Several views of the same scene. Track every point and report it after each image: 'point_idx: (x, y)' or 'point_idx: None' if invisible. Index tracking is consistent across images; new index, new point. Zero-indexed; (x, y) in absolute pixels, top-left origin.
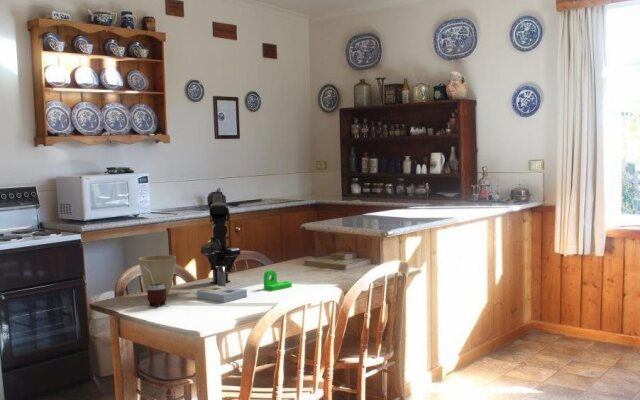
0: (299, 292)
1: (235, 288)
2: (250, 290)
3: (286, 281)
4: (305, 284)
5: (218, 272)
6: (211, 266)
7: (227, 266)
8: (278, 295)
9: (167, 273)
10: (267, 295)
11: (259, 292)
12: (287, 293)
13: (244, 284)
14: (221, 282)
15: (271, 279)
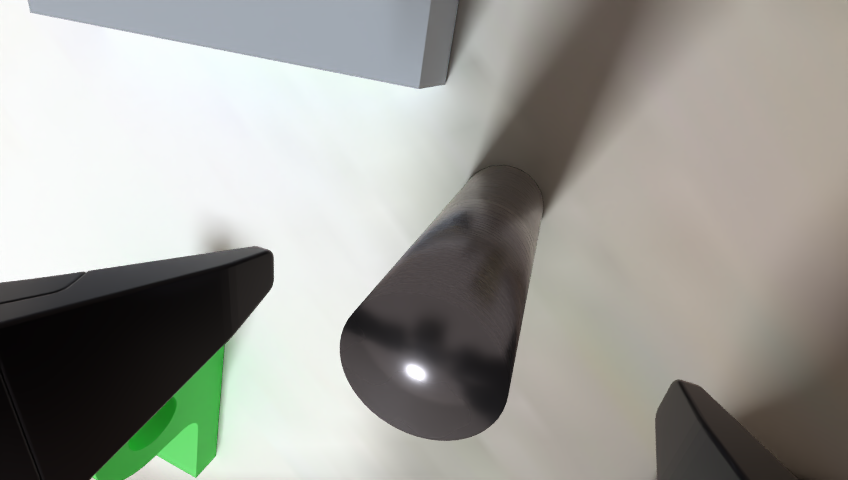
0: (17, 279)
1: (147, 17)
2: None
3: (178, 460)
4: (147, 464)
5: (458, 249)
6: (755, 449)
7: (150, 268)
8: (19, 169)
9: None
10: (60, 144)
11: (170, 222)
12: (33, 239)
13: (466, 468)
14: (455, 201)
15: (161, 412)
